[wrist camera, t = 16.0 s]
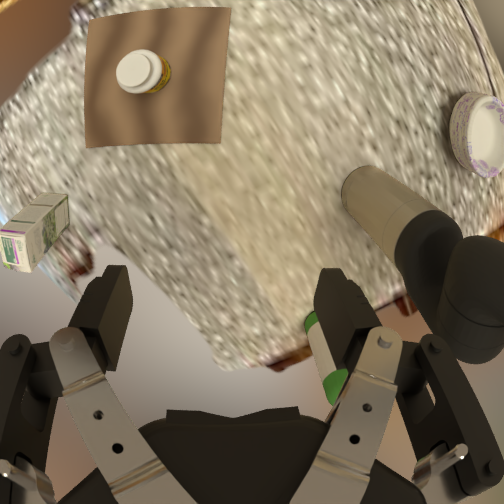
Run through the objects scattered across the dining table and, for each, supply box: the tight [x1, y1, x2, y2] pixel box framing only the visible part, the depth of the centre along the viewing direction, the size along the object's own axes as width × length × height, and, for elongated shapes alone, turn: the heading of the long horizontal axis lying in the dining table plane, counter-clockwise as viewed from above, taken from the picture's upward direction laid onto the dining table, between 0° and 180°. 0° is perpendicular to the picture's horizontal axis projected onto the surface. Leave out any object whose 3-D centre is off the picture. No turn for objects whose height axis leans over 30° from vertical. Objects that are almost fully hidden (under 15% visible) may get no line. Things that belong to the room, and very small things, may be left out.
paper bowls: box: [449, 92, 504, 178], centre depth 36 cm, size 15×15×8 cm
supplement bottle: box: [116, 49, 171, 94], centre depth 27 cm, size 5×5×10 cm
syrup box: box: [0, 193, 69, 273], centre depth 34 cm, size 6×6×14 cm
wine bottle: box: [305, 311, 348, 406], centre depth 47 cm, size 8×8×30 cm
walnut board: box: [84, 7, 231, 148], centre depth 32 cm, size 20×20×1 cm
